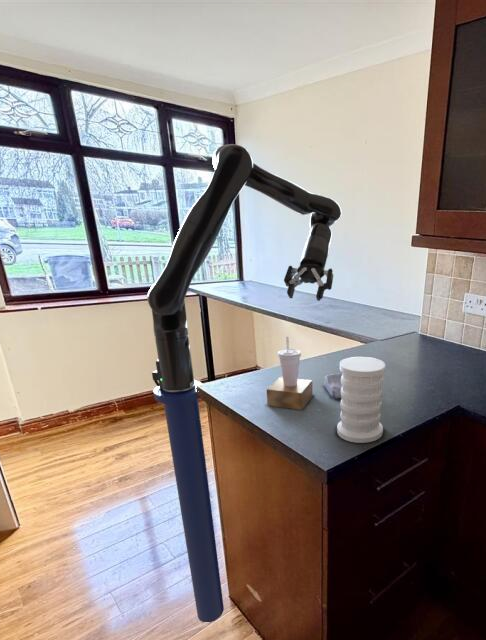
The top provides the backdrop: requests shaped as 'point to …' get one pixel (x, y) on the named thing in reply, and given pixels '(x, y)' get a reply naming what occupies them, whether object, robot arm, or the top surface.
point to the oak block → (289, 394)
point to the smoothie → (289, 365)
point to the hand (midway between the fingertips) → (303, 298)
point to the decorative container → (361, 399)
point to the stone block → (333, 385)
